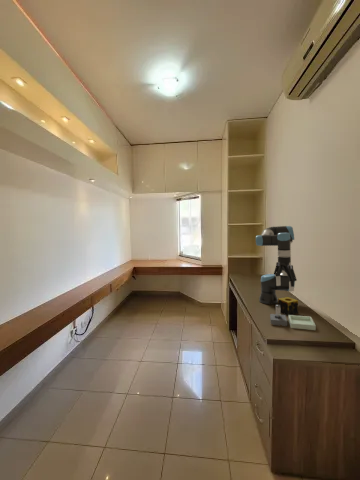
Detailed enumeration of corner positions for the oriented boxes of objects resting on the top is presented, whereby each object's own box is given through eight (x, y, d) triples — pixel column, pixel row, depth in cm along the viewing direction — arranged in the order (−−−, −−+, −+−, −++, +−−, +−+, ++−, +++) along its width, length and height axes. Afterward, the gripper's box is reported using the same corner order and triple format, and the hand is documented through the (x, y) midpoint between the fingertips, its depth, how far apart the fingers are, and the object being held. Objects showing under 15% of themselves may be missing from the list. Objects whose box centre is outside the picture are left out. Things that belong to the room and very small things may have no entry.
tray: (288, 319, 160) (288, 314, 159) (311, 320, 155) (310, 316, 155) (290, 327, 146) (290, 323, 146) (315, 330, 142) (315, 325, 142)
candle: (277, 311, 174) (277, 298, 174) (287, 308, 178) (287, 296, 177) (288, 316, 165) (287, 302, 164) (298, 313, 168) (298, 300, 168)
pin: (275, 321, 157) (275, 304, 156) (280, 321, 156) (280, 304, 155) (276, 322, 154) (275, 305, 154) (280, 323, 153) (280, 306, 153)
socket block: (270, 318, 162) (270, 313, 161) (285, 319, 158) (285, 315, 158) (270, 324, 152) (270, 319, 152) (287, 326, 149) (287, 321, 149)
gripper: (268, 254, 159) (268, 283, 161) (291, 259, 135) (292, 294, 136) (277, 253, 161) (278, 282, 162) (302, 258, 136) (303, 293, 138)
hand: (284, 288), depth 149 cm, fingers open, 13 cm apart
